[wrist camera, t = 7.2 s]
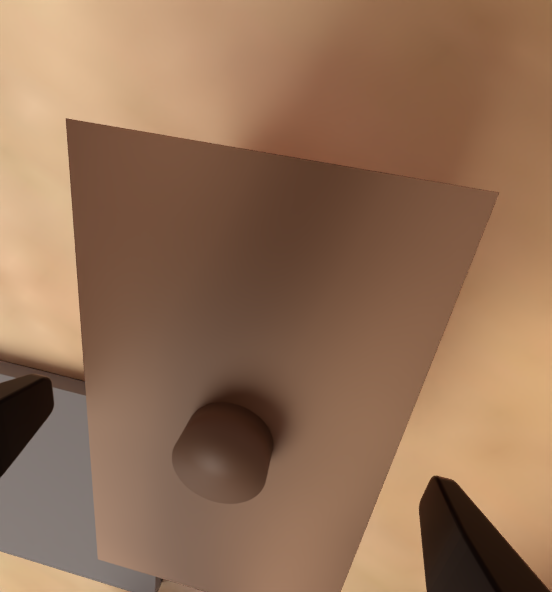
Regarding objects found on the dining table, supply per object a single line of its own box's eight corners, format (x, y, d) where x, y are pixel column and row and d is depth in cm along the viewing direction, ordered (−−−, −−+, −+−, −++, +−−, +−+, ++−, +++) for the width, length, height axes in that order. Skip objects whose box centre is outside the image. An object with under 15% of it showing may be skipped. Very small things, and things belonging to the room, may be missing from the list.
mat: (170, 403, 15) (161, 415, 15) (161, 583, 21) (154, 598, 20) (-98, 335, 17) (-119, 343, 16) (-42, 521, 22) (-55, 534, 21)
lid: (466, 186, 6) (528, 196, 4) (327, 572, 11) (325, 666, 9) (116, 127, 7) (25, 110, 5) (124, 515, 11) (78, 589, 9)
